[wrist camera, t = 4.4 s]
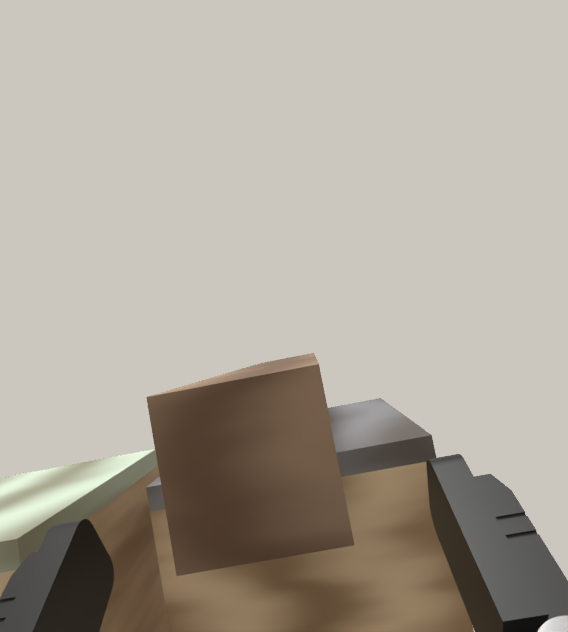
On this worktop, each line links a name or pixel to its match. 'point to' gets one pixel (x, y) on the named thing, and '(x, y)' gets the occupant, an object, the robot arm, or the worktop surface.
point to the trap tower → (337, 550)
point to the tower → (108, 520)
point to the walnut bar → (249, 467)
